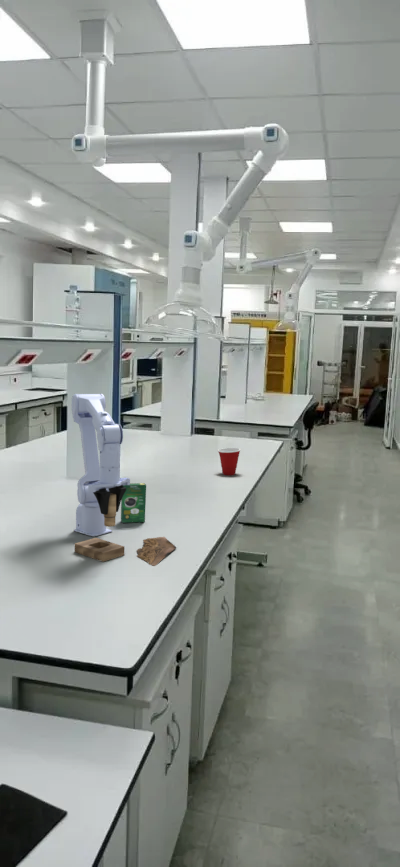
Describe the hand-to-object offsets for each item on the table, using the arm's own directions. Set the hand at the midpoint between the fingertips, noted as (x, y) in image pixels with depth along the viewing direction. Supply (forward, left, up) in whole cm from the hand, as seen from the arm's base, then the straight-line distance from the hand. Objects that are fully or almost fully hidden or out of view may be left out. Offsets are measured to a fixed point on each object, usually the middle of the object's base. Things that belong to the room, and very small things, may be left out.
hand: (109, 512), depth 188 cm
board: (+2, -6, -11) cm, 12 cm away
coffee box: (-15, +24, -11) cm, 31 cm away
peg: (0, 0, -4) cm, 4 cm away
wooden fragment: (+12, +7, -11) cm, 18 cm away
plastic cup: (-42, +112, -11) cm, 121 cm away
